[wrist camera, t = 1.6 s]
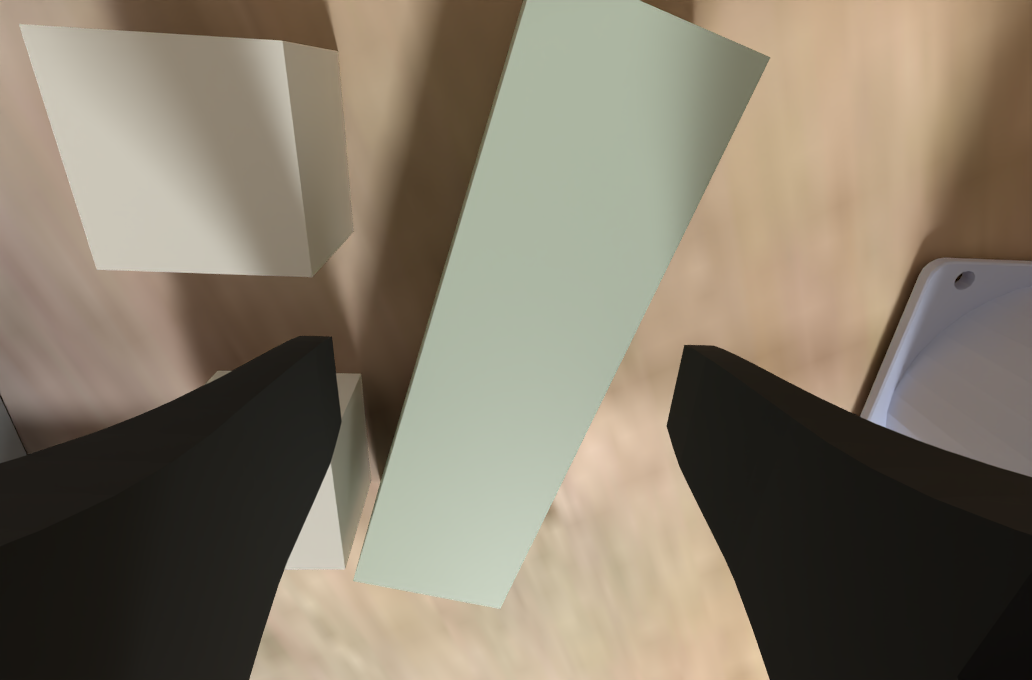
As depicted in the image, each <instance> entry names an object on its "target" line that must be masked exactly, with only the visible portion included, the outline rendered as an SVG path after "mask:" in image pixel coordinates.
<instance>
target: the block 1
mask: <svg viewBox="0 0 1032 680" xmlns="http://www.w3.org/2000/svg"><path fill="white" fill-rule="evenodd" d="M19 26H20V29H21V32H22V36H23V39H24V42H25V45H26V48H27V51H28V54H29V58H30V61H31V64H32V67H33V70H34V73H35V76H36V80H37V83H38V86H39V89H40V92H41V95H42V99H43V102H44V105H45V108H46V111H47V114H48V117H49V121H50V124H51V127H52V130H53V133H54V136H55V139H56V143H57V146H58V149H59V152H60V155H61V158H62V162H63V165H64V168H65V171H66V174H67V177H68V180H69V184H70V187H71V190H72V193H73V196H74V199H75V202H76V206H77V209H78V212H79V215H80V218H81V221H82V225H83V228H84V231H85V234H86V237H87V240H88V243H89V247H90V250H91V253H92V256H93V259H94V262H95V265H96V269H97V270H124V271H152V272H179V273H207V274H235V275H263V276H291V277H313V276H314V275H315V274H316V273H317V272H318V270H319V269H320V268H321V267H322V266H323V265H324V264H325V263H326V262H327V261H328V259H329V258H330V257H331V256H332V255H333V254H334V253H335V252H336V251H337V250H338V249H339V247H340V246H341V245H342V244H343V243H344V242H345V241H346V240H347V239H348V238H349V236H350V235H351V234H352V233H353V232H354V229H353V217H352V206H351V194H350V183H349V171H348V160H347V148H346V136H345V125H344V113H343V102H342V90H341V79H340V67H339V55H338V51H335V50H329V49H324V48H319V47H313V46H308V45H303V44H298V43H292V42H287V41H280V40H264V39H248V38H232V37H216V36H201V35H185V34H169V33H153V32H137V31H121V30H105V29H89V28H73V27H57V26H42V25H26V24H19Z"/></svg>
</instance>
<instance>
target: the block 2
mask: <svg viewBox="0 0 1032 680" xmlns="http://www.w3.org/2000/svg"><path fill="white" fill-rule="evenodd" d="M229 372H231V371H217V372H216V373H215V374H214V375H213V376H212V377H211V378H210V379H209V380H208V381H207V382H206V384H208V383H210V382H212V381H214V380H216V379H218V378H220V377H222V376H224V375H225V374H227V373H229ZM336 377H337V385H338V394H339V402H340V411H341V419H342V423H341V427H340V431H339V435H338V438H337V442H336V446H335V449H334V453H333V456H332V460H331V463H330V466H329V468H328V470H327V473H326V475H325V477H324V480H323V482H322V484H321V487H320V489H319V491H318V494H317V496H316V498H315V500H314V503H313V505H312V507H311V509H310V512H309V514H308V516H307V518H306V521H305V523H304V525H303V527H302V530H301V532H300V534H299V536H298V539H297V541H296V543H295V546H294V548H293V550H292V552H291V555H290V557H289V559H288V561H287V564H286V567H285V569H284V570H308V569H345V568H346V565H347V562H348V558H349V555H350V551H351V548H352V545H353V541H354V538H355V534H356V531H357V528H358V524H359V521H360V518H361V514H362V511H363V507H364V504H365V501H366V497H367V494H368V490H369V487H370V484H371V473H370V462H369V452H368V441H367V430H366V420H365V409H364V399H363V388H362V377H361V374H351V373H336Z"/></svg>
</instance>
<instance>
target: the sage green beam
mask: <svg viewBox="0 0 1032 680" xmlns="http://www.w3.org/2000/svg"><path fill="white" fill-rule="evenodd" d="M769 59H770V57H768V56H766V55H764V54H761V53H759V52H757V51H754V50H752V49H750V48H748V47H745V46H743V45H741V44H738V43H736V42H734V41H732V40H729V39H727V38H725V37H722V36H720V35H718V34H715V33H713V32H711V31H709V30H706V29H704V28H702V27H699V26H697V25H695V24H692V23H690V22H688V21H686V20H683V19H681V18H679V17H676V16H674V15H672V14H670V13H667V12H665V11H663V10H660V9H658V8H656V7H653V6H651V5H649V4H647V3H644V2H642V1H640V0H523V3H522V7H521V10H520V13H519V17H518V20H517V23H516V27H515V30H514V34H513V37H512V40H511V44H510V47H509V50H508V54H507V57H506V60H505V64H504V67H503V71H502V74H501V77H500V81H499V84H498V87H497V91H496V94H495V98H494V101H493V104H492V108H491V111H490V114H489V118H488V121H487V125H486V128H485V131H484V135H483V138H482V141H481V145H480V148H479V151H478V155H477V158H476V162H475V165H474V168H473V172H472V175H471V178H470V182H469V185H468V189H467V192H466V195H465V199H464V202H463V205H462V209H461V212H460V216H459V219H458V222H457V226H456V229H455V232H454V236H453V239H452V242H451V246H450V249H449V253H448V256H447V259H446V263H445V266H444V269H443V273H442V276H441V280H440V283H439V286H438V290H437V293H436V296H435V300H434V303H433V307H432V310H431V313H430V317H429V320H428V323H427V327H426V330H425V333H424V337H423V340H422V344H421V347H420V350H419V354H418V357H417V360H416V364H415V367H414V371H413V374H412V377H411V381H410V384H409V387H408V391H407V394H406V398H405V401H404V404H403V408H402V411H401V414H400V418H399V421H398V424H397V428H396V431H395V435H394V438H393V441H392V445H391V448H390V451H389V455H388V458H387V462H386V465H385V468H384V472H383V475H382V478H381V482H380V485H379V489H378V493H377V496H376V500H375V504H374V507H373V511H372V514H371V518H370V522H369V525H368V529H367V533H366V536H365V540H364V544H363V547H362V551H361V554H360V558H359V562H358V565H357V569H356V573H355V576H354V580H353V581H356V582H361V583H366V584H372V585H377V586H382V587H387V588H393V589H398V590H403V591H409V592H414V593H419V594H424V595H430V596H435V597H440V598H445V599H451V600H456V601H461V602H466V603H472V604H477V605H482V606H488V607H493V608H498V609H500V608H501V606H502V604H503V602H504V600H505V598H506V596H507V594H508V592H509V590H510V588H511V586H512V584H513V581H514V579H515V577H516V575H517V573H518V571H519V569H520V567H521V565H522V563H523V561H524V559H525V557H526V555H527V553H528V551H529V549H530V547H531V545H532V543H533V541H534V539H535V537H536V535H537V533H538V530H539V528H540V526H541V524H542V522H543V520H544V518H545V516H546V514H547V512H548V510H549V508H550V506H551V504H552V502H553V500H554V498H555V496H556V494H557V492H558V490H559V488H560V486H561V484H562V481H563V479H564V477H565V475H566V473H567V471H568V469H569V467H570V465H571V463H572V461H573V459H574V457H575V455H576V453H577V451H578V449H579V447H580V445H581V443H582V441H583V439H584V437H585V435H586V433H587V430H588V428H589V426H590V424H591V422H592V420H593V418H594V416H595V414H596V412H597V410H598V408H599V406H600V404H601V402H602V400H603V398H604V396H605V394H606V392H607V390H608V388H609V386H610V384H611V382H612V379H613V377H614V375H615V373H616V371H617V369H618V367H619V365H620V363H621V361H622V359H623V357H624V355H625V353H626V351H627V349H628V347H629V345H630V343H631V341H632V339H633V337H634V335H635V333H636V330H637V328H638V326H639V324H640V322H641V320H642V318H643V316H644V314H645V312H646V310H647V308H648V306H649V304H650V302H651V300H652V298H653V296H654V294H655V292H656V290H657V288H658V286H659V284H660V282H661V279H662V277H663V275H664V273H665V271H666V269H667V267H668V265H669V263H670V261H671V259H672V257H673V255H674V253H675V251H676V249H677V247H678V245H679V243H680V241H681V239H682V237H683V235H684V233H685V231H686V228H687V226H688V224H689V222H690V220H691V218H692V216H693V214H694V212H695V210H696V208H697V206H698V204H699V202H700V200H701V198H702V196H703V194H704V192H705V190H706V188H707V186H708V184H709V182H710V179H711V177H712V175H713V173H714V171H715V169H716V167H717V165H718V163H719V161H720V159H721V157H722V155H723V153H724V151H725V149H726V147H727V145H728V143H729V141H730V139H731V137H732V135H733V133H734V131H735V128H736V126H737V124H738V122H739V120H740V118H741V116H742V114H743V112H744V110H745V108H746V106H747V104H748V102H749V100H750V98H751V96H752V94H753V92H754V90H755V88H756V86H757V84H758V82H759V80H760V77H761V75H762V73H763V71H764V69H765V67H766V65H767V63H768V61H769Z"/></svg>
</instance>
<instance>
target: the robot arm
mask: <svg viewBox="0 0 1032 680" xmlns="http://www.w3.org/2000/svg"><path fill="white" fill-rule="evenodd" d="M961 273H963V274H962V277H961V278H960V279H959V281H957V282H956V283H955V280H956V278H957V277H958V275H960V274H961ZM341 423H342V419H341V411H340V402H339V394H338V385H337V377H336V369H335V360H334V352H333V343H332V337H324V336H299V337H296V338H294V339H291V340H289V341H287V342H285V343H283V344H281V345H279V346H277V347H275V348H273V349H272V350H270V351H268V352H266V353H264V354H262V355H261V356H259V357H257V358H255V359H253V360H251V361H249V362H248V363H246V364H244V365H242V366H240V367H238V368H237V369H235V370H233V371H231V372H229V373H227V374H225V375H224V376H222V377H220V378H218V379H216V380H214V381H212V382H210V383H208V384H205V385H203V386H201V387H199V388H197V389H195V390H193V391H191V392H189V393H187V394H185V395H183V396H181V397H179V398H177V399H175V400H173V401H171V402H169V403H166V404H164V405H162V406H160V407H158V408H155V409H153V410H151V411H148V412H146V413H144V414H141V415H139V416H136V417H134V418H131V419H129V420H126V421H124V422H121V423H119V424H116V425H113V426H111V427H108V428H106V429H103V430H100V431H98V432H95V433H92V434H89V435H86V436H83V437H80V438H77V439H74V440H71V441H68V442H65V443H62V444H59V445H56V446H53V447H50V448H47V449H44V450H41V451H38V452H35V453H32V454H29V455H26V456H23V457H20V458H16V459H13V460H9V461H6V462H2V463H0V680H249V678H250V675H251V671H252V668H253V665H254V661H255V658H256V655H257V651H258V648H259V645H260V641H261V638H262V635H263V631H264V628H265V625H266V622H267V619H268V616H269V613H270V610H271V606H272V603H273V600H274V597H275V594H276V591H277V588H278V585H279V582H280V579H281V577H282V574H283V572H284V569H285V567H286V564H287V561H288V559H289V557H290V555H291V552H292V550H293V548H294V546H295V543H296V541H297V539H298V536H299V534H300V532H301V530H302V527H303V525H304V523H305V521H306V518H307V516H308V514H309V512H310V509H311V507H312V505H313V503H314V500H315V498H316V496H317V494H318V491H319V489H320V487H321V484H322V482H323V480H324V477H325V475H326V473H327V470H328V468H329V466H330V463H331V460H332V456H333V453H334V449H335V446H336V442H337V438H338V435H339V431H340V427H341ZM667 429H668V432H669V435H670V439H671V442H672V446H673V449H674V452H675V455H676V458H677V461H678V464H679V466H680V468H681V471H682V473H683V475H684V477H685V479H686V481H687V483H688V485H689V487H690V489H691V491H692V493H693V496H694V498H695V500H696V502H697V504H698V506H699V508H700V510H701V512H702V514H703V516H704V518H705V520H706V522H707V524H708V526H709V528H710V530H711V532H712V534H713V536H714V538H715V540H716V542H717V544H718V546H719V548H720V550H721V552H722V554H723V556H724V558H725V560H726V562H727V565H728V567H729V569H730V571H731V574H732V576H733V578H734V580H735V583H736V586H737V588H738V591H739V594H740V596H741V599H742V602H743V604H744V607H745V610H746V613H747V615H748V618H749V621H750V623H751V626H752V629H753V632H754V635H755V638H756V640H757V643H758V646H759V649H760V652H761V655H762V658H763V661H764V664H765V667H766V670H767V673H768V676H769V679H770V680H1032V261H1021V260H995V259H969V258H938V259H935V260H933V261H931V262H929V263H928V264H927V265H926V266H925V267H924V268H923V269H922V271H921V273H920V274H919V276H918V279H917V281H916V283H915V286H914V288H913V291H912V293H911V295H910V298H909V300H908V303H907V305H906V307H905V310H904V312H903V315H902V317H901V319H900V322H899V324H898V327H897V329H896V331H895V334H894V336H893V339H892V341H891V343H890V346H889V348H888V350H887V353H886V355H885V358H884V360H883V362H882V365H881V367H880V370H879V372H878V374H877V377H876V379H875V382H874V384H873V386H872V389H871V391H870V394H869V396H868V398H867V401H866V403H865V406H864V408H863V410H862V413H861V415H860V417H859V416H857V415H855V414H853V413H850V412H848V411H846V410H844V409H842V408H840V407H838V406H835V405H833V404H831V403H829V402H827V401H825V400H823V399H821V398H819V397H817V396H815V395H813V394H811V393H809V392H807V391H805V390H803V389H801V388H799V387H797V386H795V385H793V384H791V383H789V382H787V381H785V380H783V379H781V378H779V377H778V376H776V375H774V374H772V373H770V372H768V371H766V370H764V369H762V368H760V367H758V366H757V365H755V364H753V363H751V362H749V361H747V360H745V359H743V358H741V357H739V356H737V355H735V354H733V353H730V352H728V351H726V350H724V349H721V348H718V347H716V346H706V345H684V349H683V354H682V358H681V363H680V368H679V372H678V377H677V381H676V386H675V390H674V395H673V399H672V404H671V408H670V413H669V417H668V422H667Z"/></svg>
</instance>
